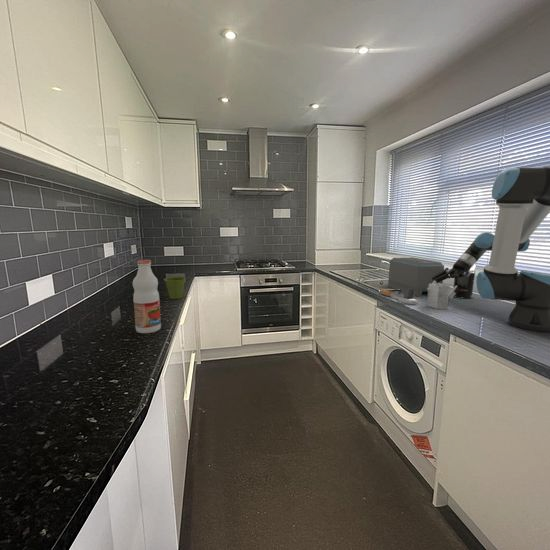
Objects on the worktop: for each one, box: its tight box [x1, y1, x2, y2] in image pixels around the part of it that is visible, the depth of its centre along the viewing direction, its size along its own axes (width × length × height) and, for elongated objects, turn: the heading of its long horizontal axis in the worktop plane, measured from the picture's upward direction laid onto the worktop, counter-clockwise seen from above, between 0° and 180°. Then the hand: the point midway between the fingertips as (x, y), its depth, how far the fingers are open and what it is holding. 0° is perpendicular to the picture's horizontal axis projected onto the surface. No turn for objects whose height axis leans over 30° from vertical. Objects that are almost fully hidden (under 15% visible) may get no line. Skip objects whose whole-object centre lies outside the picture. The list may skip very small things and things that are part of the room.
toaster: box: [387, 256, 445, 297], centre depth 192 cm, size 19×33×20 cm, turn 12°
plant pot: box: [163, 276, 187, 300], centre depth 167 cm, size 12×12×11 cm
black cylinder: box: [452, 262, 477, 299], centre depth 175 cm, size 10×10×25 cm
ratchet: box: [380, 289, 419, 306], centre depth 169 cm, size 27×10×8 cm, turn 15°
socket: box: [426, 283, 451, 310], centre depth 153 cm, size 7×7×12 cm
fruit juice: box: [132, 259, 162, 334], centre depth 115 cm, size 9×9×28 cm
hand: (438, 293), depth 154 cm, fingers open, 13 cm apart
